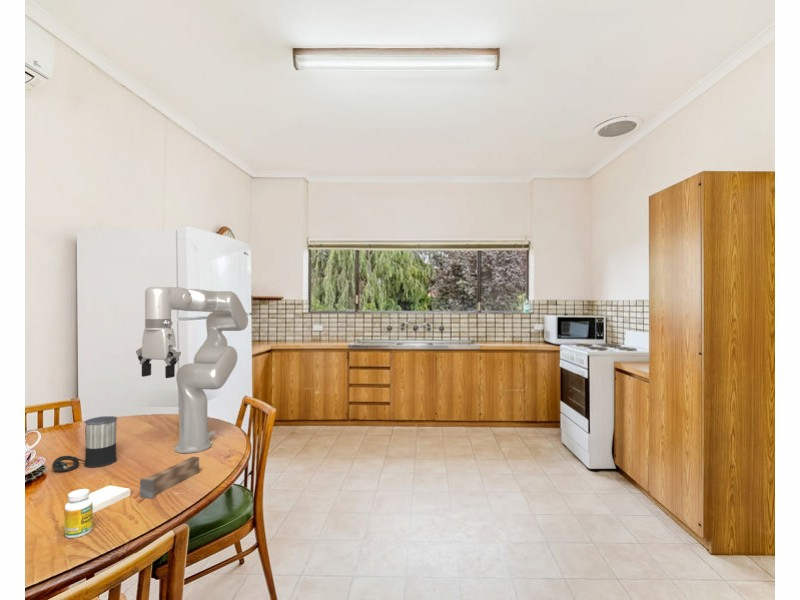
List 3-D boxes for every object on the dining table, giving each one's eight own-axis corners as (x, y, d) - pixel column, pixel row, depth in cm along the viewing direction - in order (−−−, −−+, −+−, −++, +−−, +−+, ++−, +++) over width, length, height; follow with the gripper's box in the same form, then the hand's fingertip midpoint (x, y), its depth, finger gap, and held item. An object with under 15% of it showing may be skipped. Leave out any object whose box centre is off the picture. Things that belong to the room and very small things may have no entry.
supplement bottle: (75, 527, 104) (75, 487, 104) (97, 526, 104) (98, 487, 104) (58, 539, 98) (58, 497, 98) (82, 538, 99) (82, 497, 99)
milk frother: (123, 459, 148) (124, 416, 148) (78, 477, 133) (79, 429, 133) (92, 455, 152) (92, 413, 152) (45, 472, 137) (45, 426, 137)
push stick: (191, 471, 137) (191, 456, 137) (201, 473, 136) (201, 457, 136) (140, 497, 119) (140, 479, 119) (151, 499, 118) (151, 481, 118)
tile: (109, 485, 123) (65, 503, 112) (130, 488, 121) (88, 508, 109) (109, 492, 123) (65, 512, 112) (130, 496, 121) (88, 517, 109)
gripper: (188, 324, 141) (188, 376, 141) (147, 323, 146) (147, 373, 146) (170, 325, 134) (170, 380, 134) (127, 324, 139) (127, 377, 139)
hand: (158, 376), depth 140 cm, fingers open, 9 cm apart
